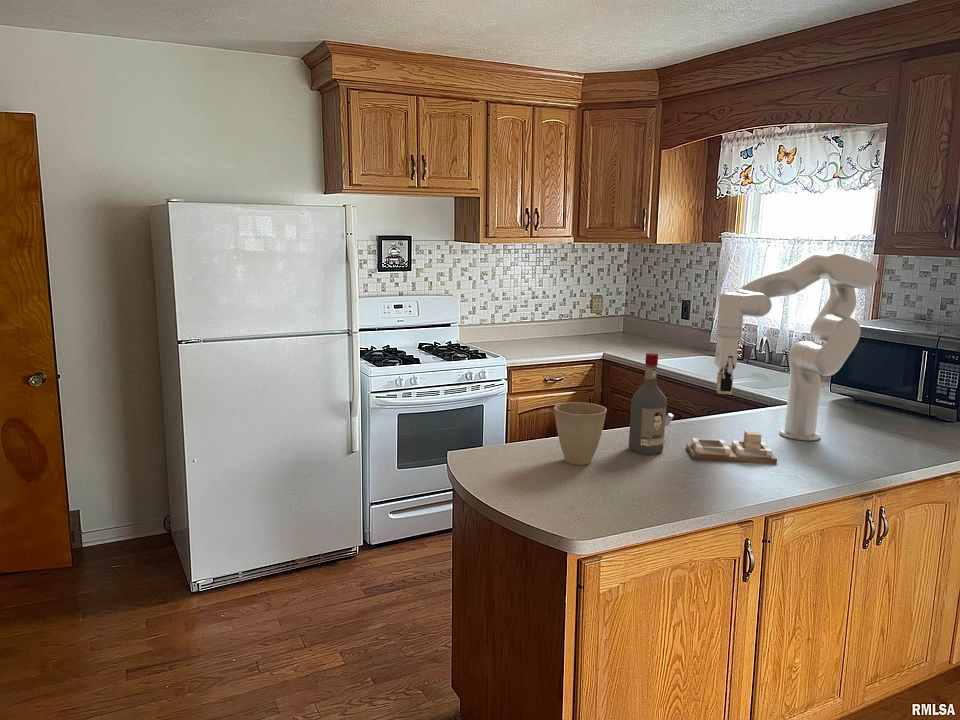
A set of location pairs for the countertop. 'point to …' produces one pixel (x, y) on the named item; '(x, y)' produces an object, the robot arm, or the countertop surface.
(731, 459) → the board
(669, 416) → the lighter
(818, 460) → the countertop surface
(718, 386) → the tan wooden block
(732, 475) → the countertop surface
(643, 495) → the countertop surface
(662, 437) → the liquor
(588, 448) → the plant pot
